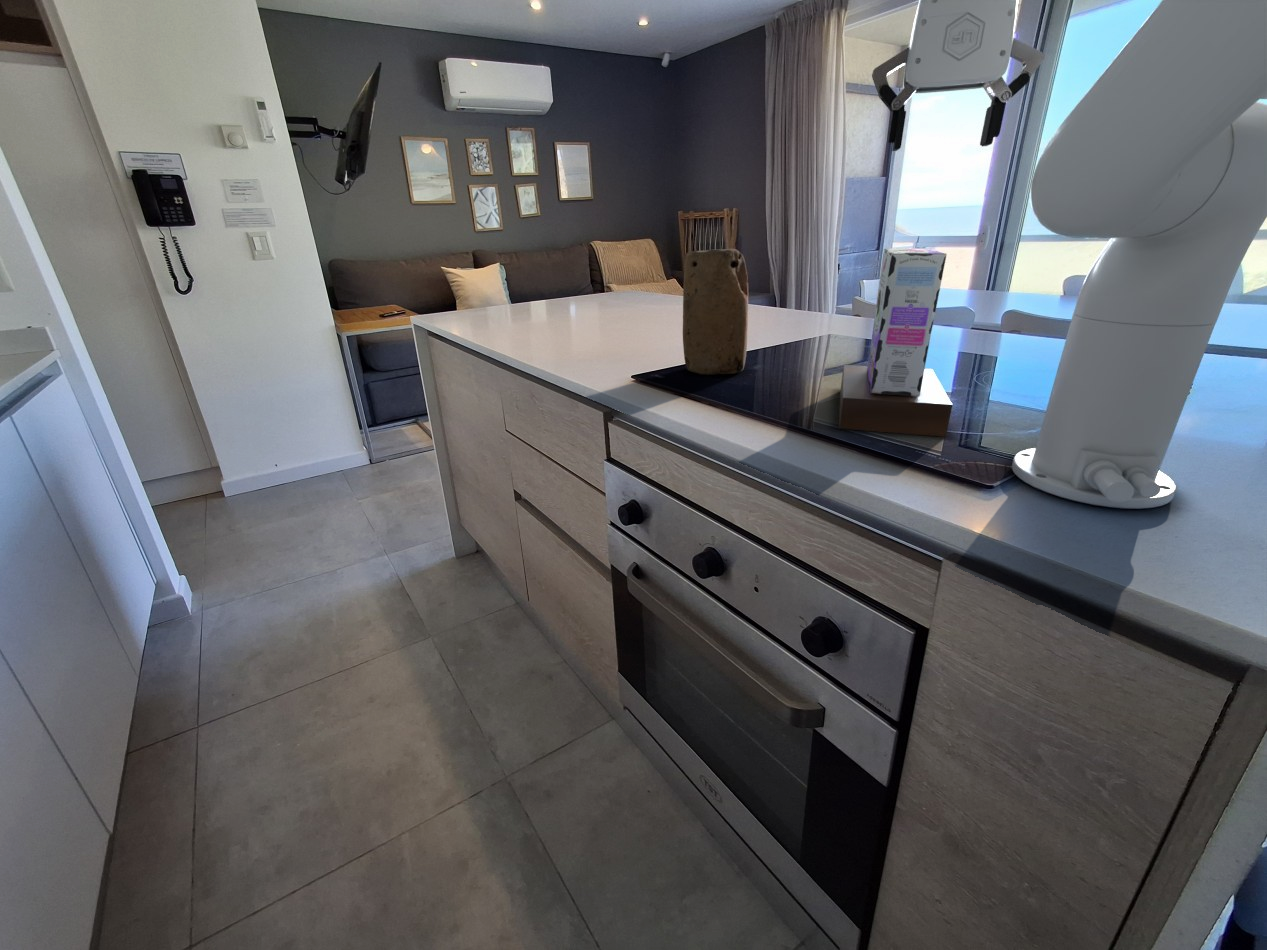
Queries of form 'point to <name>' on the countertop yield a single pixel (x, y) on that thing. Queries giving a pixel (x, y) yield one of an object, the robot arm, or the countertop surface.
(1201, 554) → the countertop surface
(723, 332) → the block
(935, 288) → the candy box
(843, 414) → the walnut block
